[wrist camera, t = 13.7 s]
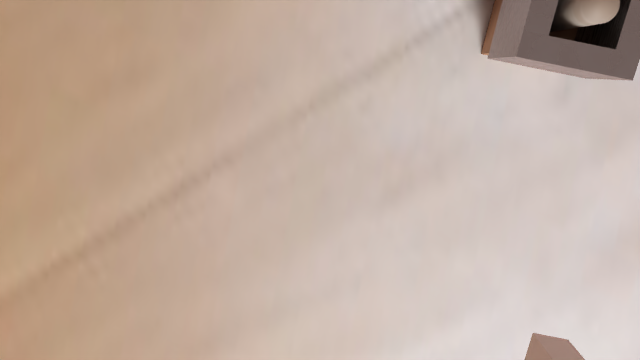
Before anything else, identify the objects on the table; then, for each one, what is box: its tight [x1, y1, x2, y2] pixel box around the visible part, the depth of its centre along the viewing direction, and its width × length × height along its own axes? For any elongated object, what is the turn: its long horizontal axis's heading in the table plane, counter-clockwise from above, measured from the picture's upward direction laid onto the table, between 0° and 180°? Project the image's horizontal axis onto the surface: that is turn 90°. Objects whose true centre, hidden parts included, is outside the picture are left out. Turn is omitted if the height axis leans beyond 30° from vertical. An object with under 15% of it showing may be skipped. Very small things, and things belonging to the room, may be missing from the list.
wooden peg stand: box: [481, 0, 620, 55], centre depth 34 cm, size 6×6×11 cm
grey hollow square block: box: [488, 0, 640, 80], centre depth 33 cm, size 7×7×6 cm
